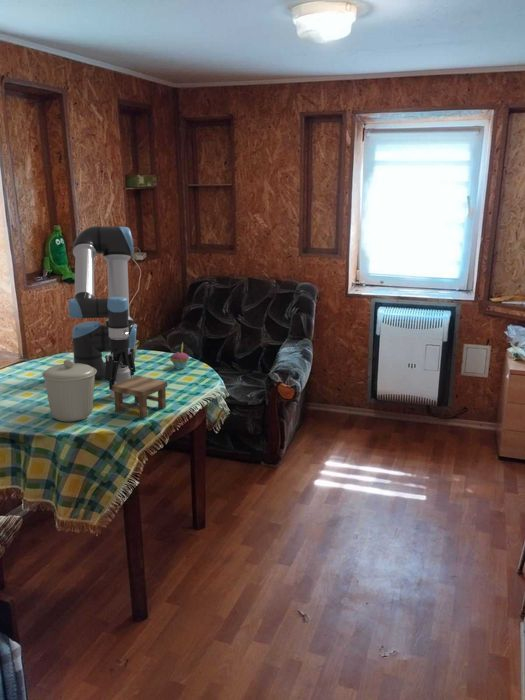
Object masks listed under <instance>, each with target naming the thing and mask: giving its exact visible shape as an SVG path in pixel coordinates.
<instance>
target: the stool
mask: <svg viewBox="0 0 525 700" xmlns="http://www.w3.org/2000/svg"><path fill="white" fill-rule="evenodd" d="M166 388H168V381H166V380H162V379H156V378H151V377H147V376H140V375H136V376H132V378H130V379H127V380H125V381H122V382H120V383H117V384H115V385H112V391H114V396H115V398H114V412H115V413H122V412H123V411H124V408H127V409H131V410H136V411H138V418H141V419H145V418H147V417H148V400H150V401H155V402H157V408H158V409H161V410H162V409H163V410H164V409H166V407H167V404H166V403H167V402H166V401H167V399H166V395H167V394H166ZM122 393H124V394H129V396H134V403H136V404H132V403H128V402H124V398H123V394H122ZM154 393H155V394H156V393H157V396H155V395H152V394H154ZM138 403H139V404H138ZM137 404H138V405H137Z"/></svg>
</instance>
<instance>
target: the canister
mask: <svg viewBox="0 0 525 700" xmlns="http://www.w3.org/2000/svg"><path fill="white" fill-rule="evenodd" d="M96 372H97V370H96V369H95V368H93V367H91V366H89V365H86V364H80V363H74V359H72V358H67V359H65V360H64V361H63V363H61V364H56V365H52V366H50V367H48V368H47V369H46V370H44V371H42V373H41V377H42V378H43V379H44V385H45V390H46V395H47V401H48V404H49V409H50V413H51V415H52V417H53V418H54V419H55V420H57V421H58V422H59V421H60V422H64V423H65V422H66V423H67V422H79V421H82V420H84V419H87V418H88V417H90V415H91V414H92V411H93V405H94V393H95V392H94V391H95V381H96V380H95V374H96Z"/></svg>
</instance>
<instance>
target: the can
mask: <svg viewBox="0 0 525 700" xmlns="http://www.w3.org/2000/svg"><path fill="white" fill-rule="evenodd" d="M127 379H130V369H129V368H128V366H127V365H123V364H120V365H118V370H117V374H116V378H115V381H117V383H120V382H122V381H125V380H127ZM122 394H123V399H126V398H129V396H130V395H129V394H124V393H122Z"/></svg>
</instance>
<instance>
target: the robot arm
mask: <svg viewBox="0 0 525 700" xmlns="http://www.w3.org/2000/svg"><path fill="white" fill-rule="evenodd" d="M134 248H135V247H134V241H133V236H132V231H131V229H130V227H127V226H119V225H116V226H108V225H107V226H98V225H95V226H94V225H93V226H89V227H87V228H84V230H82V231H81V232H80V233H79V234H77V237H76V238H75V240H74V242H73V246H72V254H73V256H74V260H75V261H74V262H75V263H74V264H75V265H74V298H70V299H69V300H68V315H69V318H72V319H95V318H96V319H97V318H99V319H102V318H103V319H104V318H105V319H106V320H105V324H101V321H98V320H97V321H94V320H91V321H85V322H81V323H77V324H76V325H74V326H73V327H72V335H71V338H72V346H73V347H72V348H73V361H74V363H80V364H86V365H89V366H91V367H93V368H95V369H96V370H97V372H96V374H95V381H97V380H101V379H104V381H105V382H108V385H109V386H108V389H109V395H110V397H111V398H113V399H115V396H114V391H112V385H115V384H117V381H115V378H116V374H117V370H118V365H127V366H128V368H129V369H130V378H133V376H134V375H135V372H136V371H137V370H136V364H135V361H134V357H133V351H134V350H133V349H134V348H135V341H136V340H137V328H138V325H137V324H136V323H134V319H133V318H132V317H131V316H130V295H129V273H128V272H129V269H128V268H129V266H128V262H129V260H130V259H131V258H132V257H131V255H133V254H134V253H135V250H134ZM97 254H98V255H99V254H100V255H101V254H102V258H103V260H105V261H106V268H107V293H108V294H107V295H108V298H107V297H106V298H95V258H96V256H97ZM103 353H110V354H109V355H107V354H106V355H105V357H104V358H105V362H104V360H103ZM120 362H122V363H120ZM110 397H109V398H110Z"/></svg>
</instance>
